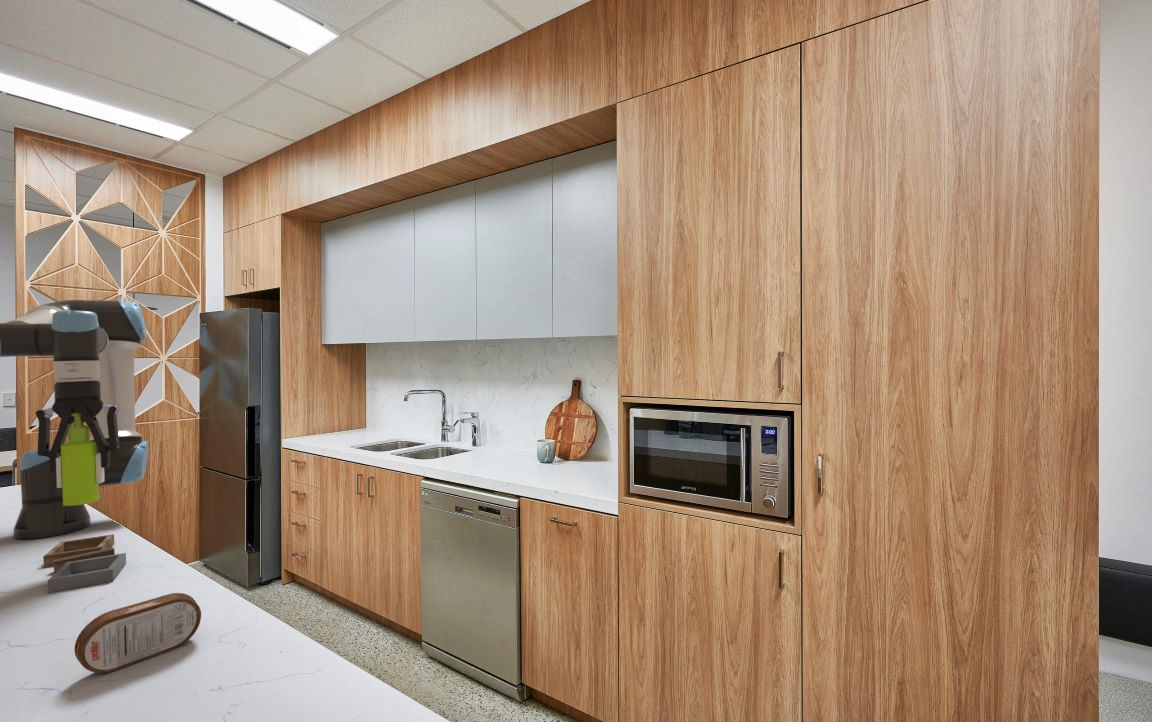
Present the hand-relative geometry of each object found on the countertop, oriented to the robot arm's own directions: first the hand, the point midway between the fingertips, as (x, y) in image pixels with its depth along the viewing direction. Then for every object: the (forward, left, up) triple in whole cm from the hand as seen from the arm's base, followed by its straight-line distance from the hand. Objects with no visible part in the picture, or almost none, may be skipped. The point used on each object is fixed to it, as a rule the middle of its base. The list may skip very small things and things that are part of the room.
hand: (81, 484), depth 120 cm
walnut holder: (-11, -3, -19) cm, 22 cm away
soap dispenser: (0, 0, -4) cm, 4 cm away
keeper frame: (+8, +3, -19) cm, 20 cm away
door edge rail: (-1, 0, -19) cm, 19 cm away
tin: (+54, +20, -19) cm, 61 cm away
